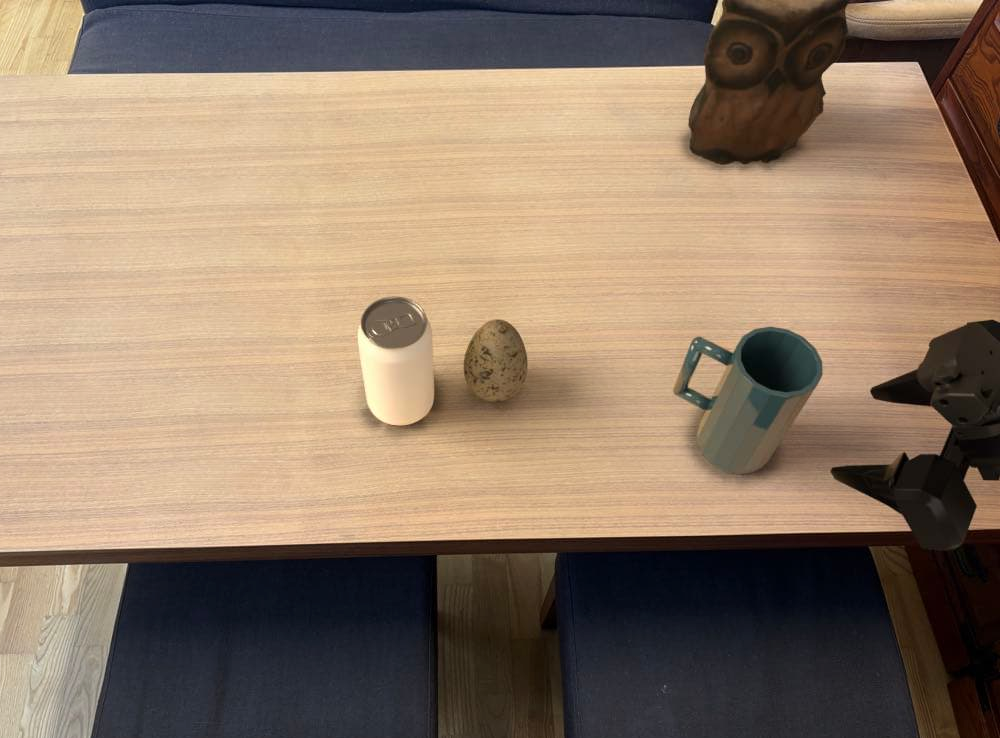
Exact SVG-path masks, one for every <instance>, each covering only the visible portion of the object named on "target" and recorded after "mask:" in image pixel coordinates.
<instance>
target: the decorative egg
mask: <svg viewBox="0 0 1000 738" xmlns="http://www.w3.org/2000/svg"><path fill="white" fill-rule="evenodd" d="M528 364H529V363H528V353H527V350H526V345H525V343H524V340H523V339H522V336H521V335H520V332H519V331H518V330H517V329H516V327H514V325H512V323H510V322H508V321H507V320H504V319H499V318H498V319H497V318H496V319H492V320H488V321H487V322H485V323H484V324H482V325H481V326H480V327H479V328H478V329H477V330H476V331H475V333H474V334H473V335H472V338H471V339H470V341H469V343H468V345H467V348H466V351H465V354H464V359H463V374H464V375H463V376H464V378H465V382H466V384H467V387H469V389H470V390H471V391H472V393H473V394H475V395H476V396H477V397H478V398H480V399H481V400H483V401H487V402H493V403H494V402H495V403H496V402H497V403H498V402H503V401H506V400H509V399H510V398H512V397H513V396H515V395H516V394H517V393H518V392H519V391H520V390H521V388H522V387H523V386H524V383H525V381H526V377H527V374H528Z"/></svg>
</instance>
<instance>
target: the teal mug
mask: <svg viewBox="0 0 1000 738" xmlns="http://www.w3.org/2000/svg"><path fill="white" fill-rule="evenodd" d="M702 355H705V356H707V357H708V358H711V359H713V360H714V361H717V362H719V363H721V364H722V365H725V366H726V367H725V370H724V371H723V374H722V376H721V378H720V380H719V382H718V384H717V386H716V388H715V390H714V393H713V395H712V397H708V396H707V395H704V394H703V393H701V392H699V391H697V390H695V389H693V388H691V387H690V386H689V385H690V384H691V381H692V379H693V376H694V375H695V371H696V369H697V367H698V365H699V362H700V360H701V358H702ZM823 373H824V372H823V361H822V358H821V356H820V354H819V352H818V350H817V349H816V347H815V346H814V345H813V344H811V342H810V341H809V340H807V339H806V338H805V337H804V336H802V335H800V334H798V333H796V332H795V331H792V330H790V329H788V328H782V327H776V326H765V327H758V328H754V329H752V330H750V331H749V332H748V333H746V334H744V335H742V337H741V338H740V340H739V341H738V343H737V344H736V346H735V348H734V350H733V351H730V350H729V349H727V348H725V347H723V346H721V345H718V344H717V343H715V342H713V341H711V340H709V339H707V338H705V337H702V336H700V335H699V336H695V337H694V338H693V339H692V340H691V342H690V344H689V347H688V350H687V352H686V355H685V357H684V360H683V362H682V364H681V367H680V370H679V372H678V375H677V377H676V380H675V382H674V385H673V388H672V392H673V394H674V395H675V396H676V397H678V398H680V399H682V400H684V401H686V402H688V403H690V404H691V405H694V406H695V407H697V408H699V409H701V410H703V411H705V412H704V414H703V416H702V418H701V420H700V422H699V424H698V429H697V432H696V441H697V446H698V448H699V450H700V452H701V454H702V456H703V457H704V458H705V459H706V460H707V461H708V462H709V463H711V465H712V466H714V467H716V468H717V469H719V470H721V471H724V472H725V473H729V474H735V475H747V474H751V473H754V472H757V471H759V470H760V469H762V468H763V467H765V466H766V464H767V463H768V462H769V460H770V459H771V458H772V455H773V454H774V453H775V451H776V450H777V449H778V447H779V445H780V444H781V442H782V441H783V439H784V437H785V436H786V435H787V433H788V431H789V429H791V427H792V425H793V424H794V422H795V420H796V419H797V418H798V416H799V414H800V413H801V412H802V410H803V408H804V406H805V405H806V404H807V402H808V400H809V399H810V397H811V396H812V395H813V393H814V391H815V390H816V389H817V386H818V385H819V383H820V381H821V379H822V377H823Z"/></svg>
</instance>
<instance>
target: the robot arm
mask: <svg viewBox="0 0 1000 738" xmlns="http://www.w3.org/2000/svg"><path fill="white" fill-rule="evenodd" d="M869 394H870V395H871V396H872V399H874V400H875V401H882V402H886V403H892V404H899V405H900V404H901V405H910V406H911V405H912V406H920V407H931V408H933V409H934V410H935V411H936V412H937V413H938V414H939V415H940V416H941V417H942V418H943V419H944V420H946V421H947V422H948V423H949V424H950V425H951V428H950V430H949V432H948V434H947V437H946V440H945V441H944V444H943V447H942V449H941V451H940V454H937V453H919V454H918V455H916V456H914V457H913V458H911V459H910V458H909V456H908V454H907V453H906V452H905V451H904V452H902V453H900V455H899V456H898V457H897V458H896V459H895V460H893V462H892V463H886V464H849V465H848V464H847V465H839V466H834V467H831V469H830V472H829V473H830V474H831V476H832V478H833V479H834V480H835V481H836V482H839V483H841V484H843V485H845V486H846V487H849V488H852V489H853V490H854V491H855V490H856V491H857V492H859V493H861V494H864V495H865V496H868V497H870V498H872V499H874V500H876V501H877V502H879V503H881V504H884V505H885V506H887V507H888V508H890V509H892V510H894V511H895V512H896V513H899V514H900V515H901V516H902V517H903V519H904V520H905V522H906V524H907V526H908V527H909V529H910V531H911V534H913V536H914V537H915V540H916V541H917V543H918V545H919V547H920V549H922V550H933V551H945V552H946V551H954V550H956V549H957V548H958V547H960V546H961V545H963V544H964V542H965V539H966V537H967V534H968V531H969V528H970V526H971V523H972V521H973V518H974V515H975V513H976V510H977V507H978V505H977V503H976V501H975V499H974V498H973V496H972V493H971V491H970V490H969V488H968V486H967V483H966V481H965V478H966V476H967V473H968V471H969V468H970V467H971V468H972V469H977V470H978V472H979V474H980V477H981V478H982V480H983V481H985V482H986V481H988V482H989V481H991V482H993V481H994V482H999V481H1000V321H998V320H995V319H985V320H976V321H967V322H966V324H964V325H961V326H959V327H957V328H954V329H952V330H950V331H948V332H944V333H942V334H940V335H938V336H936V337H933V338H932V339H931V340H930V341H929V342H928V349H927V352H926V354H925V356H924V358H923V360H922V362H921V363H919V364H918V367H917V368H916V369H913V370H912V371H908V372H907V373H904V374H902V375H899V376H896V377H894V378H892V379H889V380H886V381H884V382H882V383H879V384H877V385H874V386H871V388H870V389H869Z"/></svg>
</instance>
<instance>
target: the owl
mask: <svg viewBox="0 0 1000 738" xmlns="http://www.w3.org/2000/svg"><path fill="white" fill-rule="evenodd" d="M851 1H852V0H722V1H721V8H722V13H721V15H720V18H719V19H718V20H717V23H716V24H715V26H714V27H713V28H712V29H711V32H710V33H709V36H708V40H707V43H706V51H705V53H704V54H703V57H702V60H703V64H704V74H705V80H704V84H703V86H702V87H701V89H700V90H699V92H698V93H697V94H696V96H695V99H693V103H692V105H691V108H690V111H689V116H688V124H687V126H688V128H689V129H690V135H691V136H690V138H689V150H690V151H691V153H692V154H693V155H695V156H699V157H701V158H703V159H705V160H708V161H710V162H713V163H715V164H717V165H721V166H722V165H723V166H724V165H728V164H730V163H734V162H739V163H740V164H742V165H748V164H750V163H753V162H761V163H764V164H769V163H771V162H772V161H774V160H778V159H780V158H781V157H782V155H784V153H786V152H787V151H789V150H791V149H793V148H796V146H797V143H798V141H799V139H800V138H801V137H802V136H803V135H804V134H805V133H806V132H808V130H809V129H810V127H811V126H812V125H813V123H814V122H815V120H816V119H817V118H818V117H819V116H820V115H822V114H823V113H824V106H825V105H824V104H825V102H824V97H825V96H826V94H827V92H826V90H825V87H824V82H823V74H824V73H825V72H826V71H827V70H828V69H829V68H830V67H831V66H832V65H833V64H835V63H836V62H837V61H838V60H839V59H840V58H841V54H842V52H843V51H844V50H845V49H844V48H845V47H846V43H847V36H848V34H849V29H848V28H849V27H848V23H847V15H846V8H847V6H848V5H849V3H850V2H851Z"/></svg>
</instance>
